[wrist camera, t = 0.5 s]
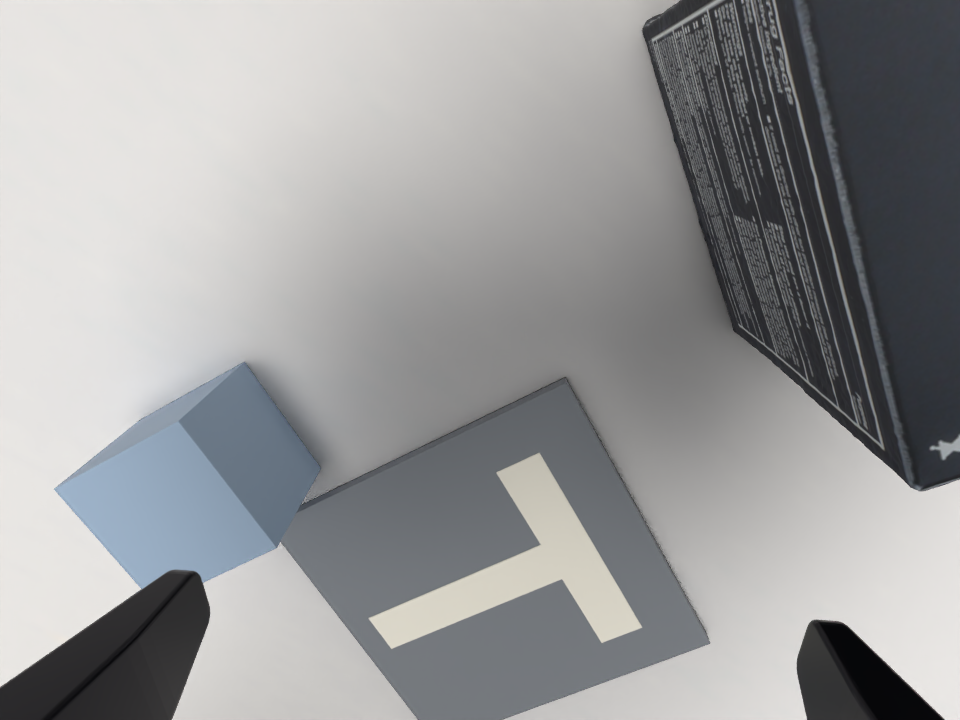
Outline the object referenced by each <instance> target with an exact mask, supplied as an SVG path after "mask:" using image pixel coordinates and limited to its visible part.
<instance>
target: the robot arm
mask: <svg viewBox="0 0 960 720" xmlns="http://www.w3.org/2000/svg"><path fill="white" fill-rule="evenodd" d="M209 618H210V606H209V603H208V599H207V596H206V593H205V589H204V586H203V582H202V579H201V576H200V575H199V574H198V573H197V572H196V571H190V570H177V569H175V570H170V571H168V572H166V573H164V574H163V575H162V576H160V577H159V578H157V579H156V580H154V581H153V582H151V583H150V584H149V585H147V586H146V587H144V588H143V589H141V590H140V591H138V592H137V593H136V594H134V595H133V596H131V597H130V598H128V599H127V600H125V601H124V602H123V603H121V604H120V605H118V606H117V607H115V608H114V609H112V610H111V611H110V612H108V613H107V614H105V615H104V616H102V617H101V618H99V619H98V620H97V621H95V622H94V623H92V624H91V625H89V626H88V627H86V628H85V629H84V630H82V631H81V632H79V633H78V634H76V635H75V636H73V637H72V638H71V639H69V640H68V641H66V642H65V643H63V644H62V645H60V646H59V647H58V648H56V649H55V650H53V651H52V652H50V653H49V654H47V655H46V656H45V657H43V658H42V659H40V660H39V661H37V662H36V663H34V664H33V665H32V666H30V667H29V668H27V669H26V670H24V671H23V672H21V673H20V674H18V675H17V676H16V677H14V678H13V679H11V680H10V681H8V682H7V683H5V684H4V685H3V686H1V687H0V720H172V718H173V715H174V713H175V711H176V708H177V706H178V703H179V700H180V698H181V695H182V692H183V690H184V687H185V684H186V682H187V679H188V676H189V674H190V671H191V668H192V666H193V663H194V660H195V658H196V655H197V652H198V650H199V647H200V645H201V642H202V639H203V637H204V634H205V631H206V629H207V626H208V623H209ZM797 674H798V680H799V684H800V689H801V693H802V698H803V703H804V707H805V712H806V716H807V720H945V719H944V718H943V717H942V716H941V715H940V714H938V713H937V712H936V711H935V710H934V709H933V708H932V707H931V706H930V705H929V704H928V703H927V702H926V701H925V700H924V699H923V698H922V697H921V696H920V695H919V694H918V693H917V692H916V691H915V690H914V689H913V688H912V687H910V686H909V685H908V684H907V683H906V682H905V681H904V680H903V679H902V678H901V677H900V676H899V675H898V674H897V673H896V672H895V671H894V670H893V669H892V668H891V667H890V666H889V665H888V664H887V663H886V662H885V661H883V660H882V659H881V658H880V657H879V656H878V655H877V654H876V653H875V652H874V651H873V650H872V649H871V648H870V647H869V646H868V645H867V644H866V643H865V642H864V641H863V640H862V639H861V638H860V637H859V636H858V635H857V634H855V633H854V632H853V631H852V630H851V629H850V628H849V627H848V626H847V625H845V624H844V623H842V622H838V621H828V620H812V621H811V622H810V623H809V625H808V627H807V630H806V633H805V636H804V639H803V642H802V645H801V648H800V651H799V654H798V658H797Z"/></svg>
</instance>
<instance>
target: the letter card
mask: <svg viewBox="0 0 960 720" xmlns="http://www.w3.org/2000/svg"><path fill="white" fill-rule="evenodd" d="M281 543H282V544H283V545H284V547H285V548H286V549H287V550H288V552H289V553H290V554H291V556H292V557H293V558H294V560H295V561H296V562H297V563H298V565H299V566H300V567H301V569H302V570H303V571H304V573H305V574H306V575H307V576H308V578H309V579H310V580H311V582H312V583H313V584H314V585H315V587H316V588H317V589H318V591H319V592H320V593H321V595H322V596H323V597H324V598H325V600H326V601H327V602H328V604H329V605H330V606H331V607H332V609H333V610H334V611H335V613H336V614H337V615H338V617H339V618H340V619H341V620H342V622H343V623H344V624H345V626H346V627H347V628H348V630H349V631H350V632H351V633H352V635H353V636H354V637H355V639H356V640H357V641H358V642H359V644H360V645H361V646H362V648H363V649H364V650H365V652H366V653H367V654H368V655H369V657H370V658H371V659H372V661H373V662H374V663H375V664H376V666H377V667H378V668H379V670H380V671H381V672H382V674H383V675H384V676H385V677H386V679H387V680H388V681H389V683H390V684H391V685H392V687H393V688H394V689H395V690H396V692H397V693H398V694H399V696H400V697H401V698H402V699H403V701H404V702H405V703H406V705H407V706H408V707H409V709H410V710H411V711H412V712H413V714H414V715H415V716H416V718H417V719H418V720H503V719H505V718H508V717H511V716H514V715H516V714H519V713H522V712H524V711H527V710H530V709H533V708H535V707H538V706H541V705H544V704H546V703H549V702H552V701H555V700H557V699H560V698H563V697H566V696H568V695H571V694H574V693H576V692H579V691H582V690H585V689H587V688H590V687H593V686H596V685H598V684H601V683H604V682H607V681H609V680H612V679H615V678H618V677H620V676H623V675H626V674H628V673H631V672H634V671H637V670H639V669H642V668H645V667H648V666H650V665H653V664H656V663H659V662H661V661H664V660H667V659H669V658H672V657H675V656H678V655H680V654H683V653H686V652H689V651H691V650H694V649H697V648H700V647H702V646H705V645H708V644H710V641H709V638H708V636H707V633H706V632H705V630H704V628H703V626H702V624H701V623H700V621H699V619H698V617H697V615H696V613H695V612H694V610H693V608H692V606H691V604H690V603H689V601H688V599H687V597H686V595H685V593H684V592H683V590H682V588H681V586H680V584H679V583H678V581H677V579H676V577H675V575H674V574H673V572H672V570H671V568H670V566H669V564H668V563H667V561H666V559H665V557H664V555H663V554H662V552H661V550H660V548H659V546H658V544H657V543H656V541H655V539H654V537H653V535H652V534H651V532H650V530H649V528H648V526H647V524H646V523H645V521H644V519H643V517H642V515H641V514H640V512H639V510H638V508H637V506H636V505H635V503H634V501H633V499H632V497H631V495H630V494H629V492H628V490H627V488H626V486H625V485H624V483H623V481H622V479H621V477H620V475H619V474H618V472H617V470H616V468H615V466H614V465H613V463H612V461H611V459H610V457H609V455H608V454H607V452H606V450H605V448H604V446H603V445H602V443H601V441H600V439H599V437H598V436H597V434H596V432H595V430H594V428H593V426H592V425H591V423H590V421H589V419H588V417H587V416H586V414H585V412H584V410H583V408H582V406H581V405H580V403H579V401H578V399H577V397H576V396H575V394H574V392H573V390H572V388H571V387H570V385H569V383H568V381H567V379H566V377H565V378H563V379H561V380H559V381H557V382H555V383H553V384H551V385H549V386H547V387H545V388H543V389H540V390H538V391H536V392H534V393H532V394H530V395H528V396H526V397H524V398H522V399H520V400H518V401H516V402H514V403H512V404H510V405H507V406H505V407H503V408H501V409H499V410H497V411H495V412H493V413H491V414H489V415H487V416H485V417H483V418H481V419H479V420H476V421H474V422H472V423H470V424H468V425H466V426H464V427H462V428H460V429H458V430H456V431H454V432H452V433H450V434H448V435H445V436H443V437H441V438H439V439H437V440H435V441H433V442H431V443H429V444H427V445H425V446H423V447H421V448H419V449H417V450H414V451H412V452H410V453H408V454H406V455H404V456H402V457H400V458H398V459H396V460H394V461H392V462H390V463H388V464H386V465H384V466H381V467H379V468H377V469H375V470H373V471H371V472H369V473H367V474H365V475H363V476H361V477H359V478H357V479H355V480H353V481H350V482H348V483H346V484H344V485H342V486H340V487H338V488H336V489H334V490H332V491H330V492H328V493H326V494H324V495H322V496H319V497H317V498H315V499H313V500H311V501H309V502H307V503H305V504H303V505H301V506H300V507H299V509H298V511H297V512H296V514H295V516H294V518H293V520H292V521H291V523H290V525H289V527H288V529H287V530H286V532H285V534H284V536H283V538H282V539H281Z"/></svg>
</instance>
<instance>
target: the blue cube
mask: <svg viewBox="0 0 960 720" xmlns="http://www.w3.org/2000/svg"><path fill="white" fill-rule="evenodd" d="M320 469H321V468H320V466H319V465H318V464H317V462H316V461H315V459H314V458H313V457H312V455H311V454H310V452H309V451H308V450H307V448H306V447H305V445H304V444H303V443H302V441H301V440H300V438H299V437H298V436H297V434H296V433H295V431H294V430H293V429H292V427H291V426H290V424H289V423H288V422H287V420H286V419H285V418H284V416H283V415H282V413H281V412H280V411H279V409H278V408H277V406H276V405H275V404H274V402H273V401H272V399H271V398H270V397H269V395H268V394H267V392H266V391H265V390H264V388H263V387H262V385H261V384H260V383H259V381H258V380H257V378H256V377H255V376H254V374H253V373H252V371H251V370H250V369H249V367H248V366H247V365H246V363H245V362H243V363H241V364H240V365H238V366H236V367H234V368H232V369H231V370H229V371H227V372H225V373H223V374H222V375H220V376H218V377H216V378H214V379H213V380H211V381H209V382H207V383H205V384H204V385H202V386H200V387H198V388H196V389H195V390H193V391H191V392H189V393H187V394H186V395H184V396H182V397H180V398H178V399H177V400H175V401H173V402H171V403H169V404H168V405H166V406H164V407H162V408H160V409H159V410H157V411H155V412H153V413H151V414H150V415H148V416H146V417H144V418H142V419H141V420H139V421H138V422H137V423H136V424H134V425H133V426H132V427H131V428H129V429H128V430H127V431H126V432H124V433H123V434H122V435H121V436H119V437H118V438H117V439H116V440H114V441H113V442H112V443H111V444H109V445H108V446H107V447H106V448H104V449H103V450H102V451H101V452H99V453H98V454H97V455H96V456H94V457H93V458H92V459H91V460H90V461H88V462H87V463H86V464H85V465H83V466H82V467H81V468H80V469H78V470H77V471H76V472H75V473H73V474H72V475H71V476H70V477H68V478H67V479H66V480H65V481H63V482H62V483H61V484H60V485H58V486H57V487H56V488H55V489H54V490H55V491H56V492H57V493H58V494H59V496H60V497H61V498H62V499H63V500H64V501H65V502H66V503H67V505H68V506H69V507H70V508H71V509H72V510H73V511H74V513H75V514H76V515H77V516H78V517H79V518H80V519H81V521H82V522H83V523H84V524H85V525H86V526H87V527H88V529H89V530H90V531H91V532H92V533H93V534H94V535H95V536H96V538H97V539H98V540H99V541H100V542H101V543H102V544H103V546H104V547H105V548H106V549H107V550H108V551H109V552H110V554H111V555H112V556H113V557H114V558H115V559H116V560H117V562H118V563H119V564H120V565H121V566H122V567H123V568H124V569H125V571H126V572H127V573H128V574H129V575H130V576H131V577H132V579H133V580H134V581H135V582H136V583H137V584H138V585H139V587H140V588H141V589H143V588H144V587H146V586H147V585H149V584H150V583H151V582H153V581H154V580H156V579H157V578H159V577H160V576H162V575H163V574H164V573H166V572H168V571H170V570H175V569H177V570H190V571H196V572H197V573H198V574H199V575H200V576H201V579H202V582H205V581H208V580H210V579H212V578H214V577H216V576H218V575H220V574H222V573H225V572H227V571H229V570H231V569H233V568H235V567H237V566H239V565H241V564H244V563H246V562H248V561H250V560H252V559H254V558H256V557H258V556H261V555H263V554H265V553H267V552H269V551H271V550H273V549H275V548H277V547H278V545H279V543H280V541H281V539H282V538H283V536H284V534H285V532H286V530H287V529H288V527H289V525H290V523H291V521H292V520H293V518H294V516H295V514H296V512H297V511H298V509H299V507H300V505H301V503H302V502H303V500H304V498H305V496H306V494H307V493H308V491H309V489H310V487H311V486H312V484H313V482H314V480H315V478H316V477H317V475H318V473H319V471H320Z"/></svg>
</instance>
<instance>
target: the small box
mask: <svg viewBox="0 0 960 720" xmlns="http://www.w3.org/2000/svg"><path fill="white" fill-rule="evenodd" d="M643 35H644V38H645V41H646V43H647V46H648V50H649V53H650V57H651V61H652V64H653V67H654V71H655V75H656V78H657V81H658V85H659V88H660V91H661V94H662V98H663V100H664V104H665V107H666V110H667V114H668V117H669V120H670V123H671V127H672V130H673V134H674V141H675V143H676V144H677V147H678V149H679V154H680V157H681V160H682V163H683V167H684V170H685V173H686V177H687V179H688V182H689V186H690V189H691V192H692V196H693V200H694V203H695V206H696V209H697V212H698V216H699V223H700V225H701V228H702V230H703V233H704V236H705V240H706V242H707V245H708V248H709V252H710V255H711V258H712V261H713V266H714V268H715V271H716V275H717V278H718V281H719V284H720V287H721V290H722V293H723V296H724V300H725V302H726V305H727V309H728V312H729V315H730V318H731V321H732V325H733V330H734V332H736V333H737V334H739V335H740V336H741V337H742V338H744V339H745V340H746V341H747V342H748V343H749V344H751V345H752V346H753V347H755V348H756V349H758V350H759V351H760V352H761V353H762V354H764V355H765V356H766V357H767V358H768V359H770V360H771V361H772V362H773V363H774V364H775V365H776V366H777V367H779V368H780V369H781V370H782V371H783V372H784V373H785V374H786V375H788V376H789V377H790V378H791V379H793V381H794V382H795V383H797V384H798V385H800V386H801V387H802V388H803V390H804V391H805V393H807V394H808V395H809V396H810V397H811V398H813V399H814V400H815V401H816V402H817V403H818V404H819V405H820V406H821V407H823V408H824V409H825V410H826V411H827V412H829V413H830V415H831V416H832V417H833V418H835V419H836V420H837V421H838V422H839V423H840V424H841V425H842V426H844V427H845V428H846V429H847V430H848V431H850V432H851V433H852V435H853V436H854V437H856V438H857V439H859V440H860V441H861V442H862V443H863V444H864V445H865V446H866V447H867V448H868V449H869V450H870V451H871V452H872V453H873V454H875V455H876V456H877V457H878V458H880V459H881V460H882V461H883V462H884V463H885V464H886V465H888V466H889V467H890V468H891V469H893V470H894V471H895V472H896V473H897V474H898V475H899V476H900V477H901V478H902V479H903V480H904V481H905V482H906V483H907V484H908V485H909V486H910V487H911V488H913V489H915V490H918V491H926V490H929V489H932V488H936V487H939V486H942V485H945V484H948V483H950V482H953V481H956V480H959V479H960V0H680V1H679V2H678V3H677V4H675V5H673V6H672V7H670V8H669V9H667V10H666V11H665V12H664V13H662V14H660V15H656V16H654V17H652V18H651V19H649V20H648V21H647V22H646V23H645V25H644V27H643Z"/></svg>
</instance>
